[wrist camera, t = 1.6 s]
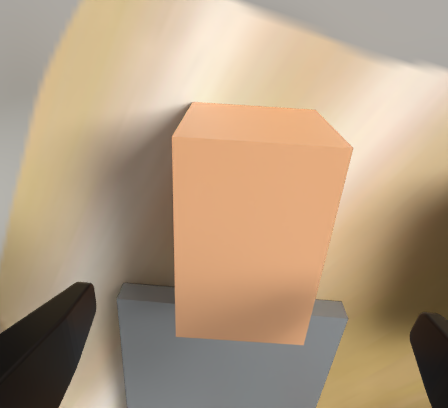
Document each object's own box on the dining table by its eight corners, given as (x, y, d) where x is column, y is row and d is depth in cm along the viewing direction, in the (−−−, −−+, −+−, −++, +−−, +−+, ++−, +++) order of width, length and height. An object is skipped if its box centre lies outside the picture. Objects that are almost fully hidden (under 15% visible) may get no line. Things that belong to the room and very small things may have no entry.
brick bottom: (314, 109, 13) (353, 147, 9) (286, 264, 17) (303, 345, 13) (193, 101, 13) (172, 136, 9) (191, 258, 17) (175, 336, 13)
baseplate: (341, 301, 18) (348, 318, 17) (300, 424, 24) (303, 442, 23) (123, 282, 18) (116, 298, 17) (133, 410, 24) (129, 428, 22)
